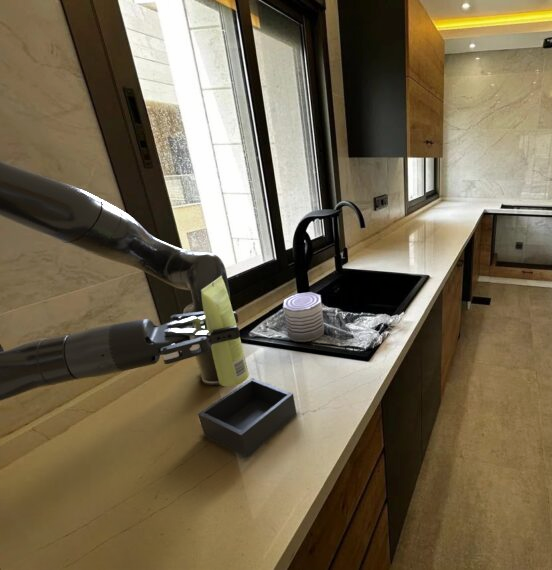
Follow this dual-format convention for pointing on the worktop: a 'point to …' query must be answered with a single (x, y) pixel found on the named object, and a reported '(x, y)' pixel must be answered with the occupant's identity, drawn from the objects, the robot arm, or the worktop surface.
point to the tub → (248, 416)
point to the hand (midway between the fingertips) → (237, 323)
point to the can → (304, 316)
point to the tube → (227, 352)
